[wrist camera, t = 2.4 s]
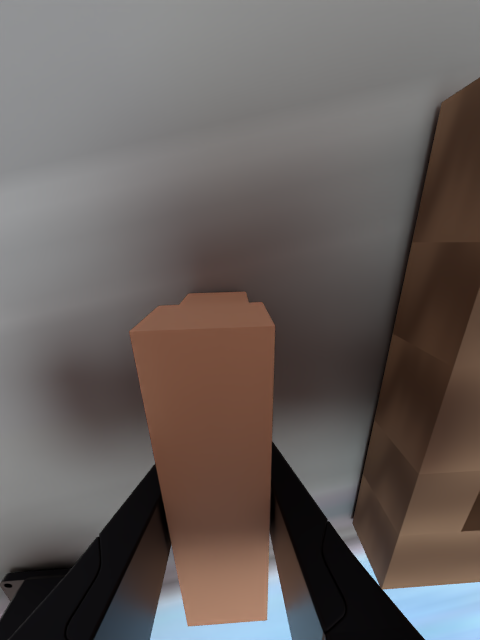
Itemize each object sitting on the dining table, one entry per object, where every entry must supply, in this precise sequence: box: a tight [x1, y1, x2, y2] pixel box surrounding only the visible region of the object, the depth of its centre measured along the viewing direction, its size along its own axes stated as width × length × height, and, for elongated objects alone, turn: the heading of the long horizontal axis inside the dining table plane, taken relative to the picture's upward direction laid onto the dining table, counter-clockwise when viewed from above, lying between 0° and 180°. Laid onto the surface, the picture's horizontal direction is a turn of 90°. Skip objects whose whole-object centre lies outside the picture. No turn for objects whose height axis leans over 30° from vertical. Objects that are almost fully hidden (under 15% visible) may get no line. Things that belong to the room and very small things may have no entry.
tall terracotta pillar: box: [129, 292, 275, 626], centre depth 9 cm, size 12×3×5 cm, turn 1°
